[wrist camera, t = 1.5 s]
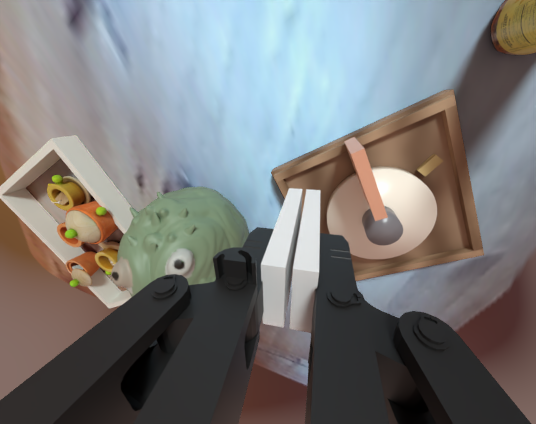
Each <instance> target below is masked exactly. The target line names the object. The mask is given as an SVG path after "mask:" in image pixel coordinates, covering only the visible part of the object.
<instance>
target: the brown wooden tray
mask: <svg viewBox="0 0 536 424" xmlns="http://www.w3.org/2000/svg"><path fill="white" fill-rule="evenodd" d="M353 137H355V138H356V139H357V140H358V142H359V143H360V144H361V145H362V146H363V147H364V149H365V152H366V155H367V157H368V160H369V163H370V166H371V168H372V167H379V166H389V167H396V168H400V169H403V170H405V171H408V172H410V173H411V174H413V175H415V176H416V177H417V178H418V179H420V180H421V181H422V182H423V183H424V184H425V185H427V187H428V188H429V189H430V190H431V192H432V193H433V195H434V197H435V200H436V204H437V217H436V222H435V224H434V227H433V229H432V231H431V232H430V234H429V235H428V236H427V238H426V239H425V240H424V241H423V242H422V243H421V244H419V245H418V246H417V247H415V248H414V249H412V250H411V251H409V252H407V253H405V254H402V255H400V256H396V257H393V258H387V259H366V258H361V257H358V256H355V255H352V254H351V260H352V264H353V269H354V275H355V280H356V281H358V280H363V279H368V278H373V277H378V276H383V275H388V274H393V273H398V272H403V271H407V270H412V269H417V268H422V267H427V266H432V265H437V264H442V263H447V262H452V261H457V260H462V259H467V258H472V257H477V256H482V255H484V252H483V247H482V241H481V236H480V230H479V225H478V219H477V214H476V209H475V203H474V198H473V192H472V187H471V181H470V176H469V171H468V165H467V160H466V154H465V149H464V143H463V138H462V133H461V127H460V122H459V116H458V111H457V106H456V100H455V95H454V90H453V89H452V90H443V91H441V92H439V93H437V94H435V95H432V96H430V97H428V98H426V99H424V100H422V101H419V102H417V103H415V104H413V105H411V106H409V107H406V108H404V109H402V110H400V111H398V112H396V113H393V114H391V115H389V116H387V117H385V118H383V119H380V120H378V121H376V122H374V123H372V124H370V125H367V126H365V127H363V128H361V129H359V130H356V131H354V132H352V133H350V134H348V135H346V136H343V137H341V138H339V139H337V140H335V141H333V142H330V143H328V144H326V145H324V146H322V147H320V148H317V149H315V150H313V151H311V152H309V153H307V154H304V155H302V156H300V157H298V158H296V159H294V160H291V161H289V162H287V163H285V164H283V165H281V166H278V167H276V168H274V169H273V170H272V172H271V174H272V175H273V177H274V179H275V181H276V183H277V185H278V187H279V189H280V191H281V193H282V195H283V197H284V199H285V198H286V195H287V193H288V190H289V188H294V189H303V191H302V207H301V218H302V213H303V207H304V201H305V195H306V189H309V190H320V233H324V234H330V232H329V230H328V225H327V206H328V202H329V199H330V197H331V195H332V193H333V191H334V190H335V189H336V187H337V186H338V185H339V184H340V183H341V182H342V181H343V180H345V179H346V178H347V177H349V176H351V175H352V174H354V173H356V172H355V169H354V167H353V164H352V161H351V159H350V156H349V153H348V150H347V148H346V145H345V142H344V141H346V140H349V139H351V138H353ZM300 224H301V223H300Z"/></svg>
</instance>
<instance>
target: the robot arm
mask: <svg viewBox="0 0 536 424" xmlns="http://www.w3.org/2000/svg"><path fill="white" fill-rule="evenodd" d="M302 191H303V189H294V188H289V190H288V193H287V195H286V198H285V201H284V203H283V206H282V209H281V211H280V214H279V217H278V219H277V222H276V225H275V227H274V229H268V228H258V227H257V228H256V229H255V230H253V231H252V232H250V234H249V236H248V237H247V239H246V241H245V243H244V245H243V247H242V248H241V247H233V248H228V249H224V250H223V251H221V252H219V253H217V254H216V255H215V256H214V257H213V263H214V270H215V276H216V280H215V281H214V282H210V283H204V284H194V285H189V284H188V281H187V279H186V278H185V277H183V276H182V275H177V274H171V275H165V276H162V277H159V278H157V279H155V280H154V281H152V282H151V283H149V284H148V285H147V286H145V287H144V288H143V289H142V290H140V291H139V292H138V293H136V294H135V295H134V296H133V297H131V298H130V299H129V300H128V301H126V302H125V303H124V304H122V305H121V306H120V307H119V308H117V309H116V310H115V311H114V312H112V313H111V314H110V315H108V316H107V317H106V318H105V319H103V320H102V321H101V322H100V323H98V324H97V325H96V326H95V327H93V328H92V329H91V330H89V331H88V332H87V333H86V334H84V335H83V336H82V337H80V338H79V339H78V340H77V341H75V342H74V343H73V344H72V345H70V346H69V347H68V348H66V349H65V350H64V351H63V352H61V353H60V354H59V355H58V356H56V357H55V358H54V359H53V360H51V361H50V362H49V363H47V364H46V365H45V366H44V367H42V368H41V369H40V370H38V371H37V372H36V373H35V374H33V375H32V376H31V377H30V378H28V379H27V380H26V381H24V382H23V383H22V384H21V385H19V386H18V387H17V388H15V389H14V390H13V391H12V392H10V393H9V394H8V395H7V396H5V397H4V398H3V399H1V400H0V424H238V423H239V419H240V415H241V411H242V407H243V403H244V399H245V395H246V390H247V387H248V382H249V379H250V374H251V371H252V366H253V362H254V358H255V354H256V350H257V346H258V342H259V334H260V331H259V327H260V323H261V320H262V316H263V324H268V325H273V326H278V327H283V328H284V323H285V317H286V311H287V305H288V299H289V293H290V287H291V281H292V294H291V314H290V329H293V330H299V331H304V332H309V333H311V344H310V352H309V360H308V363H309V369H308V385H307V402H306V417H305V424H531V423H530V422H529V420H528V419H527V418H526V417H525V415H524V414H523V413H522V412H521V411H520V409H519V408H518V407H517V406H516V405H515V403H514V402H513V401H512V400H511V399H510V397H509V396H508V395H507V394H506V393H505V391H504V390H503V389H502V388H501V387H500V385H499V384H498V383H497V381H496V380H495V379H494V378H493V377H492V375H491V374H490V373H489V372H488V371H487V369H486V368H485V367H484V366H483V364H482V363H481V362H480V361H479V359H477V357H476V356H475V355H474V354H473V352H472V351H471V350H470V349H469V347H468V346H467V345H466V344H465V343H464V341H463V340H462V339H461V338H460V336H459V335H458V334H457V333H456V332H455V331H454V330H453V329H452V328H451V327H450V326H449V325H447V324H446V323H444V322H443V321H441V320H440V319H438V318H436V317H434V316H431V315H429V314H426V313H423V312H416V311H412V312H407V313H404V314H403V315H402V316H401V317H400V318H397V317H395V316H392V315H390V314H387V313H385V312H382V311H380V310H378V309H376V308H374V307H373V306H371V305H370V304H369V303H367V302H366V301H365V300H364V298H363V295H362V294H361V293H360V292H359V291H358V289H357V286H356V280H355V275H354V269H353V264H352V260H351V253H350V248H349V243H348V242H347V240H346V239H345V238H344V237H343V236H342V235H333V234H324V233H320V190H309V189H306V195H305V201H304V207H303V213H302V218H301V207H302ZM300 223H301V224H300Z"/></svg>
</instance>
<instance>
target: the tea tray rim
mask: <svg viewBox="0 0 536 424" xmlns="http://www.w3.org/2000/svg"><path fill="white" fill-rule="evenodd" d="M60 159H62V160H63V161H64V162H65V164H66V165H67V166H68V167H69V168H70V170H71V171H72V172H73V173H74V175H75V176H76V177H77V178H78V179H79V181H80V182H81V183H82V184H83V185H84V187H85V188H86V189H87V190H88V191H89V193H90V194H91V195H92V196H93V197H94V199H95V200H96V201H97V202H98V204H99V205H100V206H102V207H104V208H106V210H107V211H108V212H109V213H110V215H111V216H112V218H113V219H114V222H115V224H116V225H117V226H118V228H119V229H120V230H121V231H122V232H123V234H125V233H126V232H127V230H128V228H129V227H130V225H131V221H132V219H133V216H132V214H131V211H130V207H131V205H130V204H129V203H128V201H127V200H126V199H125V198H124V196H123V195H122V194H121V192H120V191H119V190H118V189H117V187H116V186H115V185H114V183H113V182H112V181H111V180H110V178H109V177H108V176H107V174H106V173H105V172H104V171H103V169H102V168H101V167H100V165H99V164H98V163H97V162H96V160H95V159H94V158H93V156H92V155H91V154H90V153H89V151H88V150H87V149H86V147H85V146H84V145H83V143H82V142H81V141H80V140H79V138H78V137H77V136H76V135H73V136H66V137H59V138H52V139H50V140H49V141H48V142H47V143H46V144H45V145H44V146H43V147H42V148H41V149H40V150H39V151H38V152H36V153H35V154H34V155H33V156H32V157H31V158H30V159H29V160H28V161H27V162H26V163H25V164H24V165H23V166H22V167H21V168H19V169H18V170H17V171H16V172H15V173H14V174H13V175H12V176H11V177H10V178H9V179H8V180H7V181H6V182H5V183H3V184H2V185H1V186H0V198H1V199H2V201H3V202H5V204H7V206H8V207H9V208H10V209H11V210H12V211H13V212H14V213H15V214H16V215H17V216H18V217H19V218H20V219H21V220H22V221H23V222H24V223H25V224H26V225H27V226H28V227H29V228H30V229H31V230H32V231H33V232H34V233H35V234H36V235H37V236H38V237H39V238H40V239H41V240H42V241H43V242H44V243H45V244H46V245H47V246H48V247H49V248H50V249H51V250H52V251H53V252H54V253H55V254H56V255H57V256H58V257H59V258H60V259H61V260H62V261H63V262H64V263H65V264H66V262H67V261H69V260H71V259H73V258H75V257H77V256H79V255H81V254H83V253H85V252H84V251H83V250H82V248H81V247H72V246H70V245H68V244H66V243H65V242H64V241H63V240H62V239H61V238H60V236H59V235H58V232H57V226H58V225H59V224H58V223H57V222H56V220H55V219H54V218H53V217H52V216H51V215H50V214H49V213H48V212H47V211H46V210H45V209H44V208H43V206H42V205H41V204H40V203H39V202H38V201H37V200H36V199H35V198H34V197H33V196H32V195H31V194H30V192H29V191H28V190H27V189H26V187H27V186H29V185H30V184H31V183H32V182H33V181H34V180H36V179H37V178H38V177H39V176H40V175H42V174H43V173H44V172H45V171H46V170H48V169H49V168H50V167H51V166H52V165H54V164H55V163H56V162H57V161H58V160H60ZM72 268H73V269H75V268H78V269H82V270H83V268H82V267H81V266H80V265H76V266H72ZM91 278H92V281H93V283H92V285H91V286H87V287H88V288H89V289H90V290H91V291H92V292H93V293H94V294H95V295H96V296H97V297H98V298H99V299H100V300H101V301H102V302H103V303H104V304H105V305H106V306H107V307H108V308H112V307H116V306H120V305H122V304H124V303H125V302H126V301H128V300H129V299H130V298H131V295H130V293H129V291H128V290H126V291H122V292H121V290H120V289H119V288H118V287H117V286H116V285H115V284H114V283H113V282H112V281H111V280H110V279H109V278H108V276H107V275H106V274H105V273H104V272H103V271H102V270H101V269H100V268H99V269H98V270H97V271H96V272H95V273H94V274H93V275H92V276H91Z"/></svg>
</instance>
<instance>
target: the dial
mask: <svg viewBox="0 0 536 424" xmlns="http://www.w3.org/2000/svg"><path fill="white" fill-rule="evenodd" d="M344 142H345V145H346V148H347V150H348V153H349V156H350V159H351V161H352V164H353V167H354V169H355V172H356V173H354V174H352V175H351V176H349V177H347V178H346V179H345V180H343V181H342V182H341V183H340V184H339V185H338V186H337V187H336V189H335V190H334V191H333V193H332V195H331V197H330V199H329V202H328V206H327V225H328V230H329V232H330V234H333V235H342V236H343V237H344V238H345V239H346V240H347V242H348V243H349V248H350V253H351V254H352V255H355V256H358V257H361V258H366V259H387V258H393V257H396V256H400V255H402V254H405V253H407V252H409V251H411V250H412V249H414V248H415V247H417V246H418V245H419V244H421V243H422V242H423V241H424V240H425V239H426V238H427V236H428V235H429V234H430V232H431V231H432V229H433V227H434V224H435V222H436V217H437V204H436V200H435V197H434V195H433V193H432V192H431V190H430V189H429V188H428V187H427V185H425V184H424V183H423V182H422V181H421V180H420V179H418V178H417V177H416V176H415V175H413V174H411V173H410V172H408V171H405V170H403V169H400V168H396V167H389V166H379V167H372V168H371V166H370V163H369V160H368V157H367V155H366V152H365V149H364V147H363V146H362V145H361V144H360V143H359V142H358V140H357V139H356V138H355V137H353V138H351V139H349V140H346V141H344Z"/></svg>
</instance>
